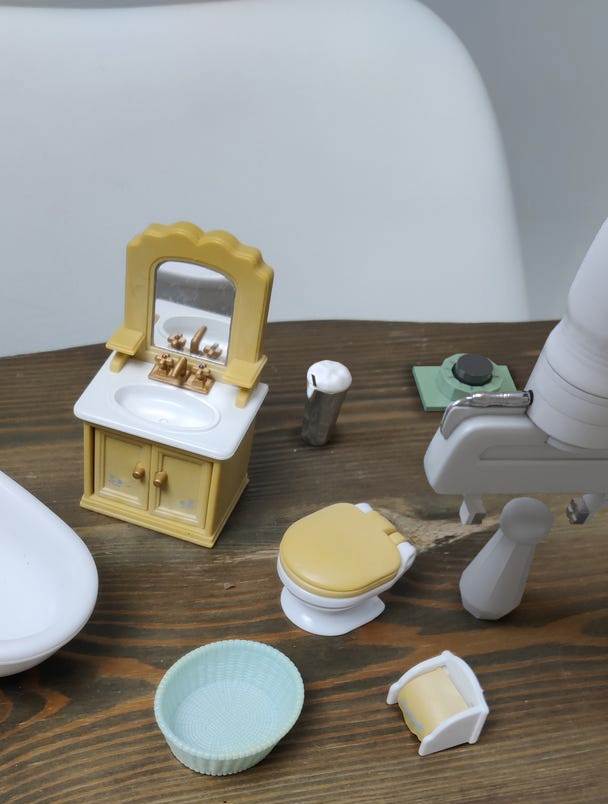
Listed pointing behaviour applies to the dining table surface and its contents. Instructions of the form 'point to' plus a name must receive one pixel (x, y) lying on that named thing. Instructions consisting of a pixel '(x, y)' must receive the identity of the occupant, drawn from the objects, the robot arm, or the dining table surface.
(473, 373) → the button
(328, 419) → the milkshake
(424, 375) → the green base push button
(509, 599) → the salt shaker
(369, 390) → the dining table surface
